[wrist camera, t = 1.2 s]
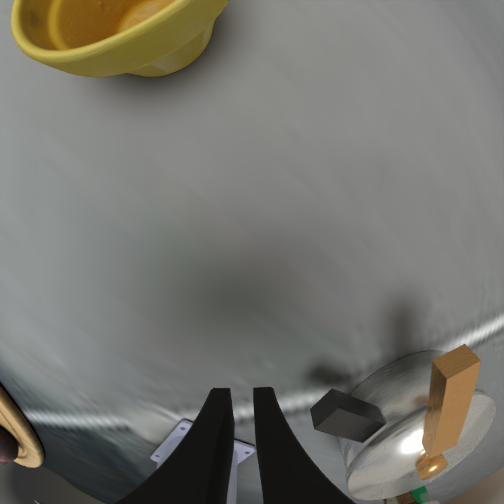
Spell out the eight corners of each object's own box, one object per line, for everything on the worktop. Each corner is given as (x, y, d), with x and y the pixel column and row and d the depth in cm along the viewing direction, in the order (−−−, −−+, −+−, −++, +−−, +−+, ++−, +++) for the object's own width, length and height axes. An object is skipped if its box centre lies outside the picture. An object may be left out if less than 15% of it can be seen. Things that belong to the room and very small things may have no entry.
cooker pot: (484, 379, 24) (509, 409, 18) (404, 456, 27) (418, 490, 21) (370, 301, 20) (405, 346, 14) (263, 418, 23) (265, 471, 18)
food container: (415, 482, 30) (432, 526, 21) (380, 495, 31) (394, 542, 21) (427, 447, 27) (453, 501, 17) (385, 464, 27) (406, 523, 18)
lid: (471, 450, 19) (481, 467, 16) (350, 503, 20) (355, 525, 18) (515, 298, 14) (542, 316, 11) (325, 385, 15) (337, 424, 12)
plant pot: (269, -2, 14) (281, -98, 5) (201, 124, 17) (149, 84, 7) (140, -28, 13) (90, -99, 3) (74, 85, 15) (-22, 56, 6)
